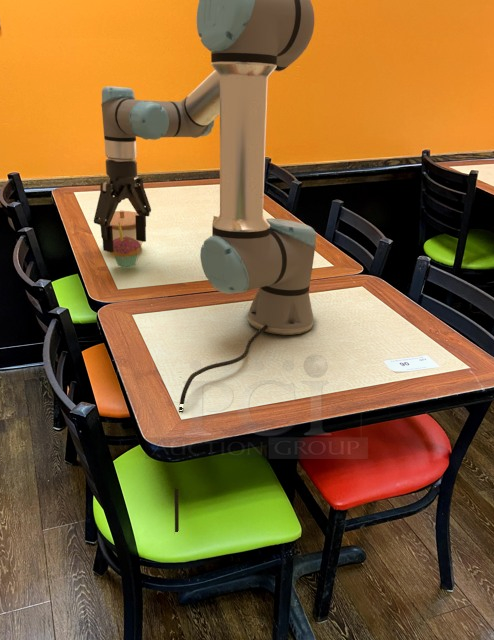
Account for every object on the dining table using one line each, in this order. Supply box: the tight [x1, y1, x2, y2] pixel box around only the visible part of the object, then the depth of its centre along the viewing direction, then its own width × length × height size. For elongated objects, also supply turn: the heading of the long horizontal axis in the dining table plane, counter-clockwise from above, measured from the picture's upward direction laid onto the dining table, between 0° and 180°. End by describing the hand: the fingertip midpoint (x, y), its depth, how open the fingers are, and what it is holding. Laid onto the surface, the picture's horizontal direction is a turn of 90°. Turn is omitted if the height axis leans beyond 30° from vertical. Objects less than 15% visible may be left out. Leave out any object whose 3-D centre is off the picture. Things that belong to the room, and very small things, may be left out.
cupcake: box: [109, 222, 142, 269], centre depth 149 cm, size 9×8×12 cm
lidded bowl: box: [99, 209, 144, 246], centre depth 160 cm, size 13×13×11 cm
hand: (125, 245), depth 150 cm, fingers open, 13 cm apart
